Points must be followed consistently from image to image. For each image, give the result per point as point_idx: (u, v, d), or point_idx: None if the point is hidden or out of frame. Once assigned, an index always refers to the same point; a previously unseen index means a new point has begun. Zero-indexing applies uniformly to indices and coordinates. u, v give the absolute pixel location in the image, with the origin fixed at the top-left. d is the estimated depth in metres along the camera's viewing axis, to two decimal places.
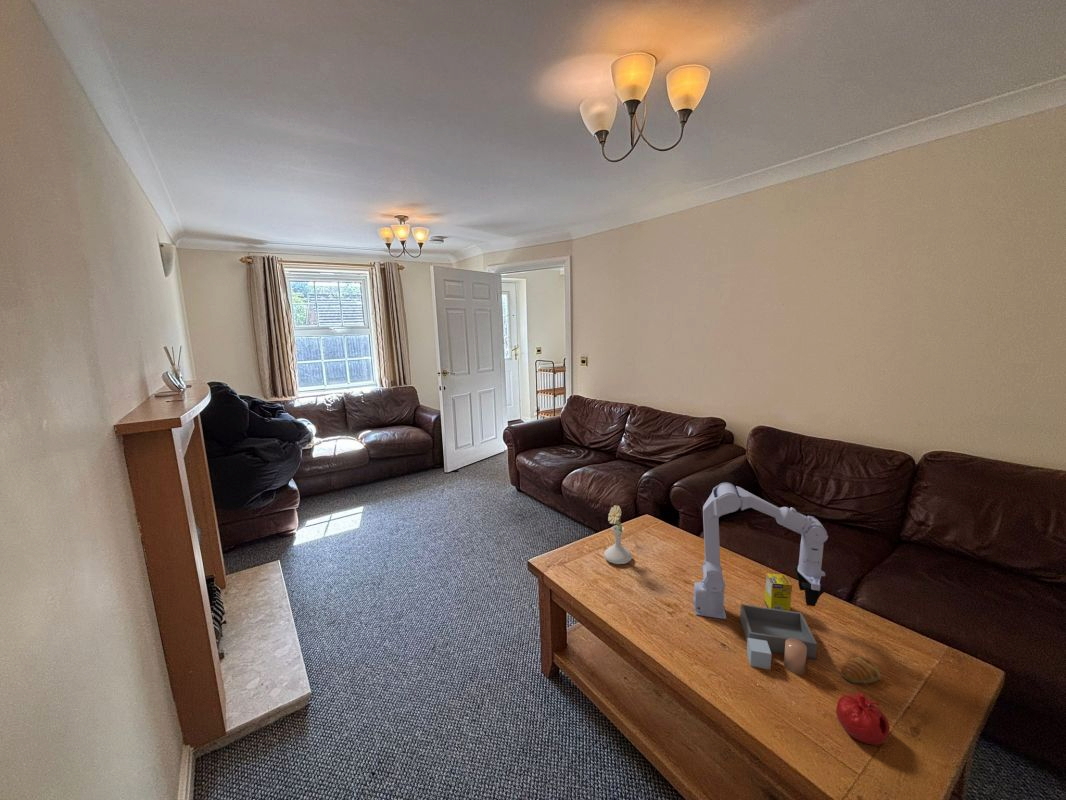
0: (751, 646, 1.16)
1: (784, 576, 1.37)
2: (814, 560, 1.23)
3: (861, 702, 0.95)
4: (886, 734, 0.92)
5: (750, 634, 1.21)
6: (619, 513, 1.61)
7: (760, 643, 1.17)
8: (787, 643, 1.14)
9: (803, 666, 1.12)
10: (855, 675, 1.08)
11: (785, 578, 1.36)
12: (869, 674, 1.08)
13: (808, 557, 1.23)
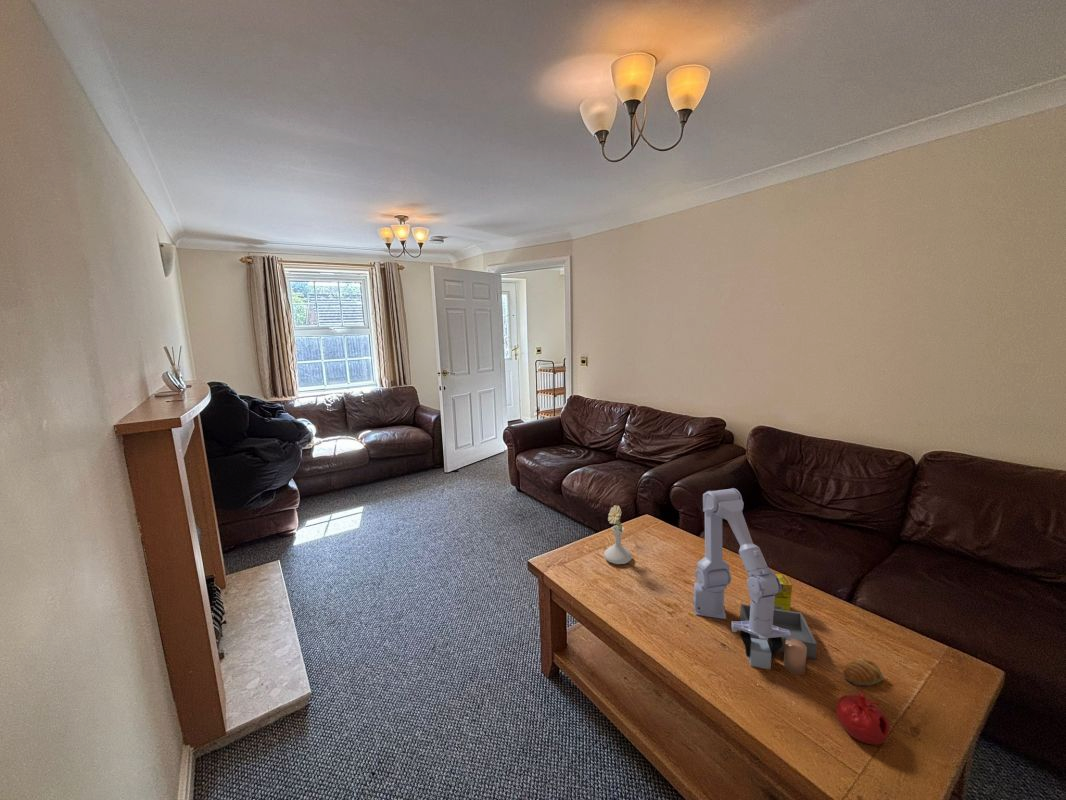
0: (751, 646, 1.16)
1: (784, 576, 1.37)
2: (753, 613, 1.14)
3: (861, 702, 0.95)
4: (886, 734, 0.92)
5: (750, 634, 1.21)
6: (619, 513, 1.61)
7: (760, 642, 1.17)
8: (787, 643, 1.14)
9: (803, 666, 1.12)
10: (859, 677, 1.08)
11: (785, 578, 1.36)
12: (872, 676, 1.08)
13: (750, 608, 1.15)
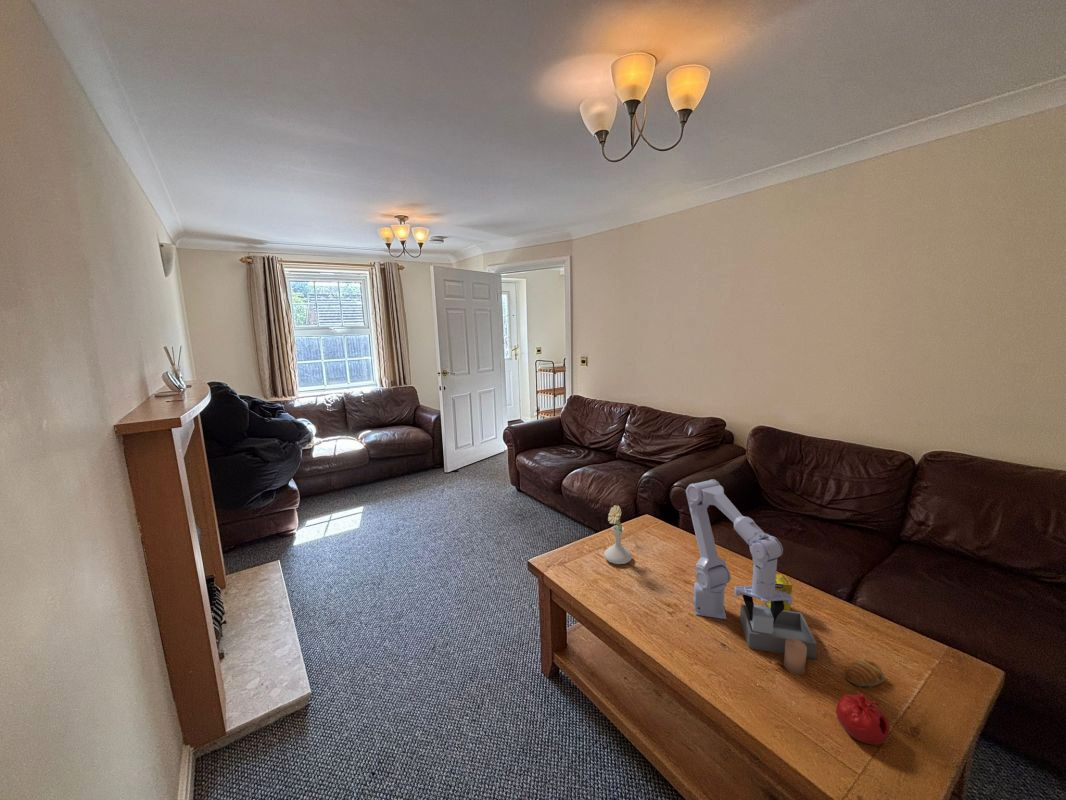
0: (754, 611, 1.19)
1: (784, 576, 1.37)
2: (757, 578, 1.16)
3: (861, 702, 0.95)
4: (886, 734, 0.92)
5: (750, 634, 1.21)
6: (619, 513, 1.61)
7: (763, 608, 1.20)
8: (787, 643, 1.14)
9: (803, 666, 1.12)
10: (861, 678, 1.07)
11: (785, 578, 1.36)
12: (874, 677, 1.07)
13: (753, 573, 1.17)
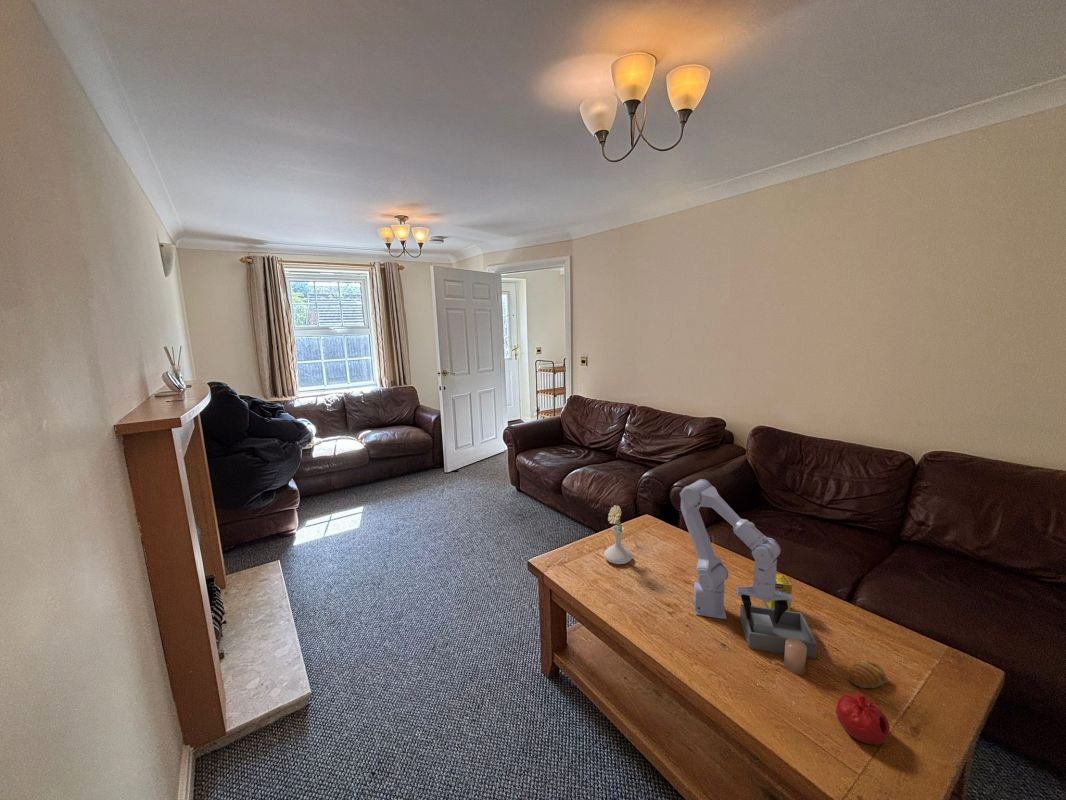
0: (754, 620, 1.25)
1: (784, 576, 1.37)
2: (761, 581, 1.21)
3: (861, 702, 0.95)
4: (886, 734, 0.92)
5: (750, 634, 1.21)
6: (619, 513, 1.61)
7: (763, 617, 1.26)
8: (787, 643, 1.14)
9: (803, 666, 1.12)
10: (864, 680, 1.07)
11: (785, 578, 1.36)
12: (877, 678, 1.07)
13: (756, 576, 1.22)
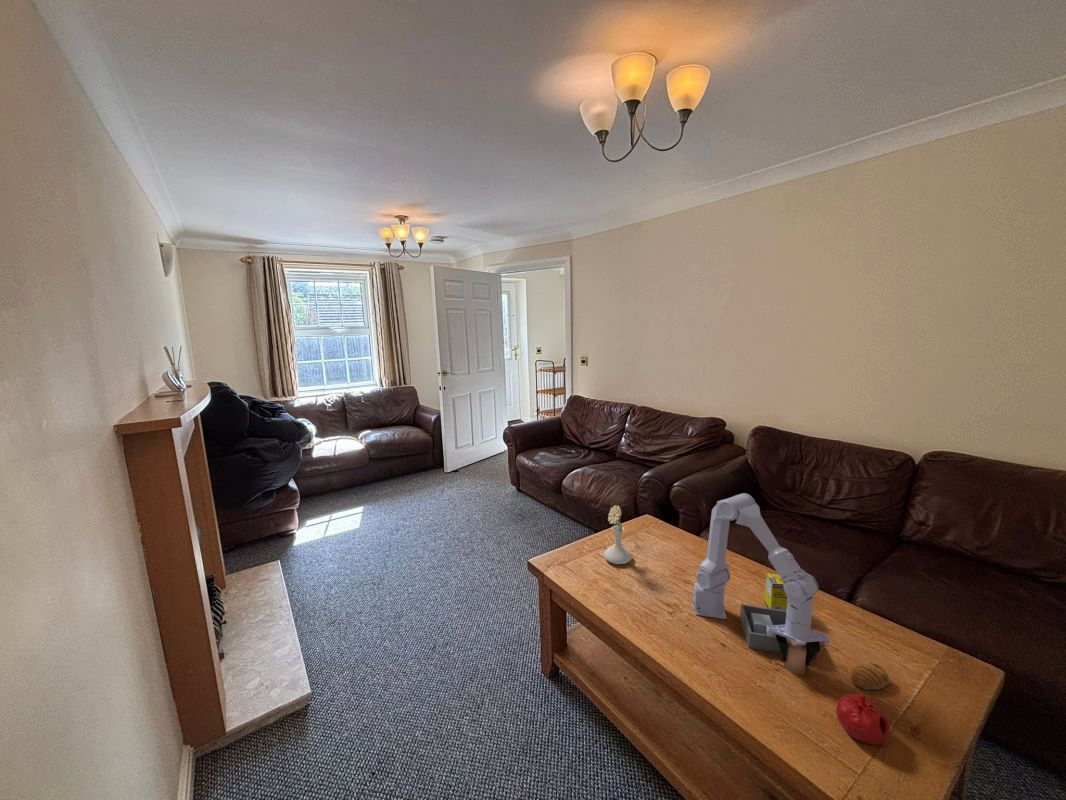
0: (754, 620, 1.25)
1: None
2: (793, 619, 1.10)
3: (861, 702, 0.95)
4: (886, 734, 0.92)
5: (750, 634, 1.21)
6: (619, 513, 1.61)
7: (763, 617, 1.26)
8: None
9: (803, 666, 1.12)
10: (867, 682, 1.06)
11: None
12: (880, 680, 1.06)
13: (788, 613, 1.11)
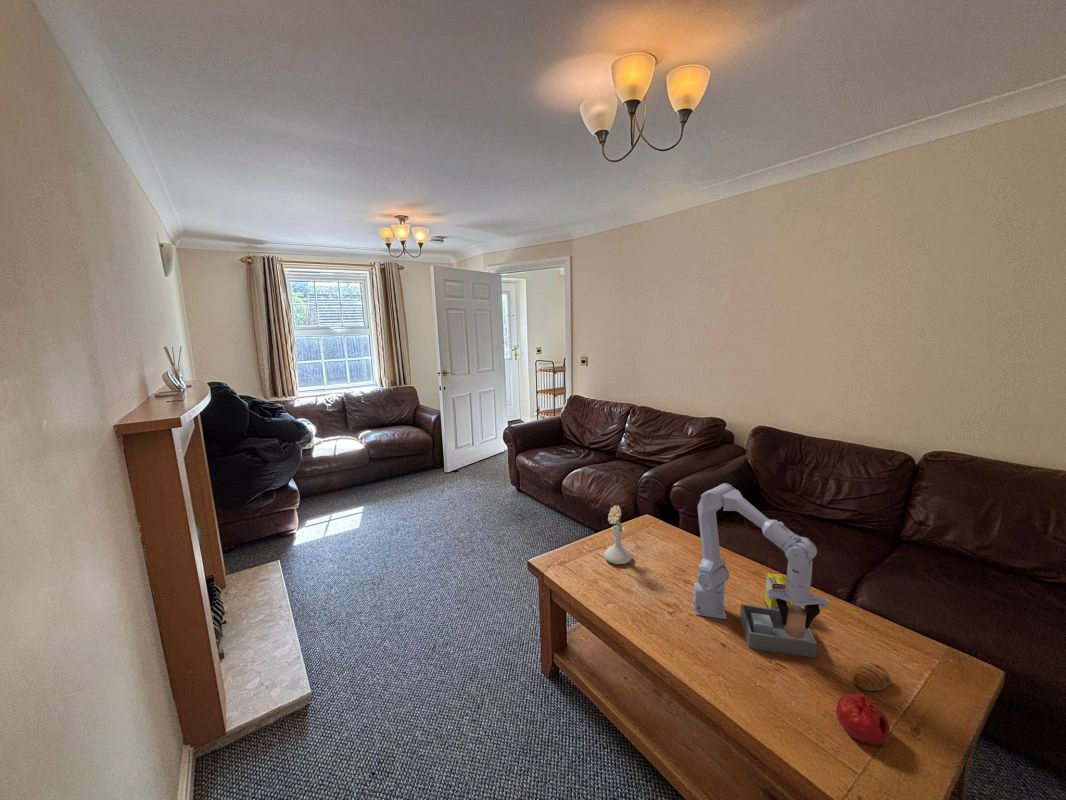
0: (754, 620, 1.25)
1: (784, 576, 1.37)
2: (795, 583, 1.13)
3: (861, 702, 0.95)
4: (886, 734, 0.92)
5: (750, 634, 1.21)
6: (619, 513, 1.61)
7: (763, 617, 1.26)
8: None
9: (803, 630, 1.14)
10: (869, 683, 1.06)
11: (785, 578, 1.36)
12: (882, 681, 1.06)
13: (789, 578, 1.14)
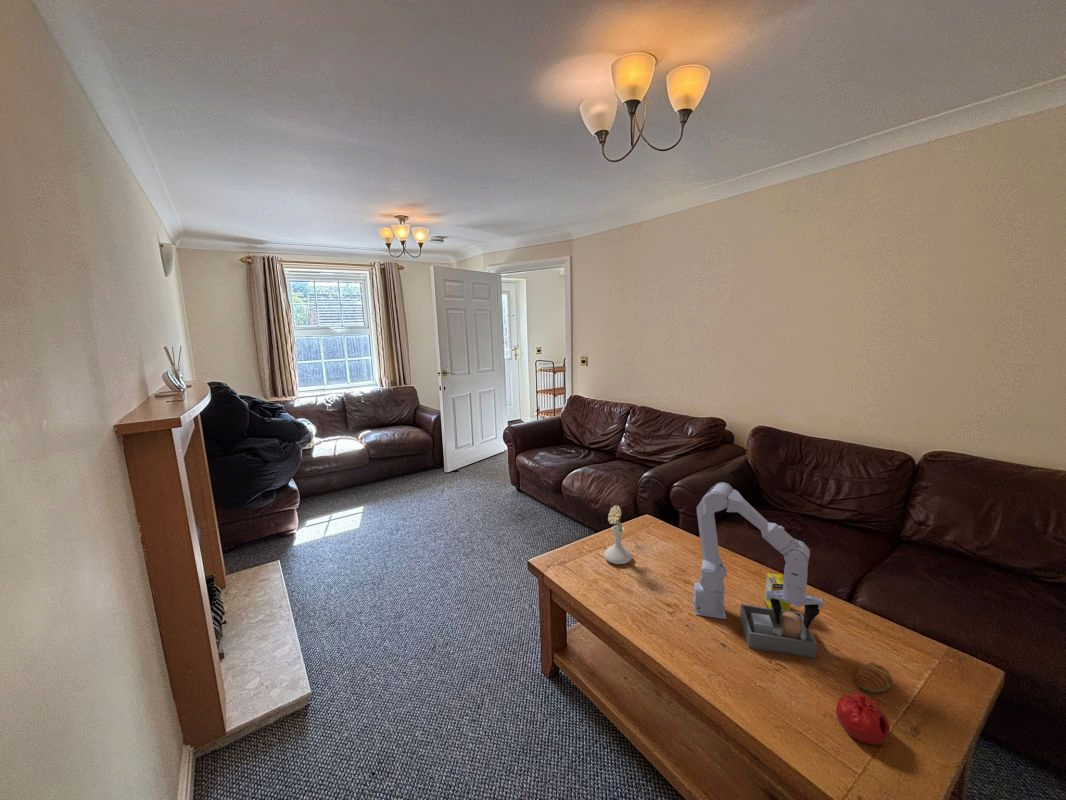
0: (754, 620, 1.25)
1: None
2: (794, 585, 1.18)
3: (861, 702, 0.95)
4: (886, 734, 0.92)
5: (750, 634, 1.21)
6: (619, 513, 1.61)
7: (763, 617, 1.26)
8: (784, 616, 1.23)
9: (798, 637, 1.21)
10: (873, 684, 1.06)
11: None
12: (885, 682, 1.06)
13: (788, 581, 1.20)
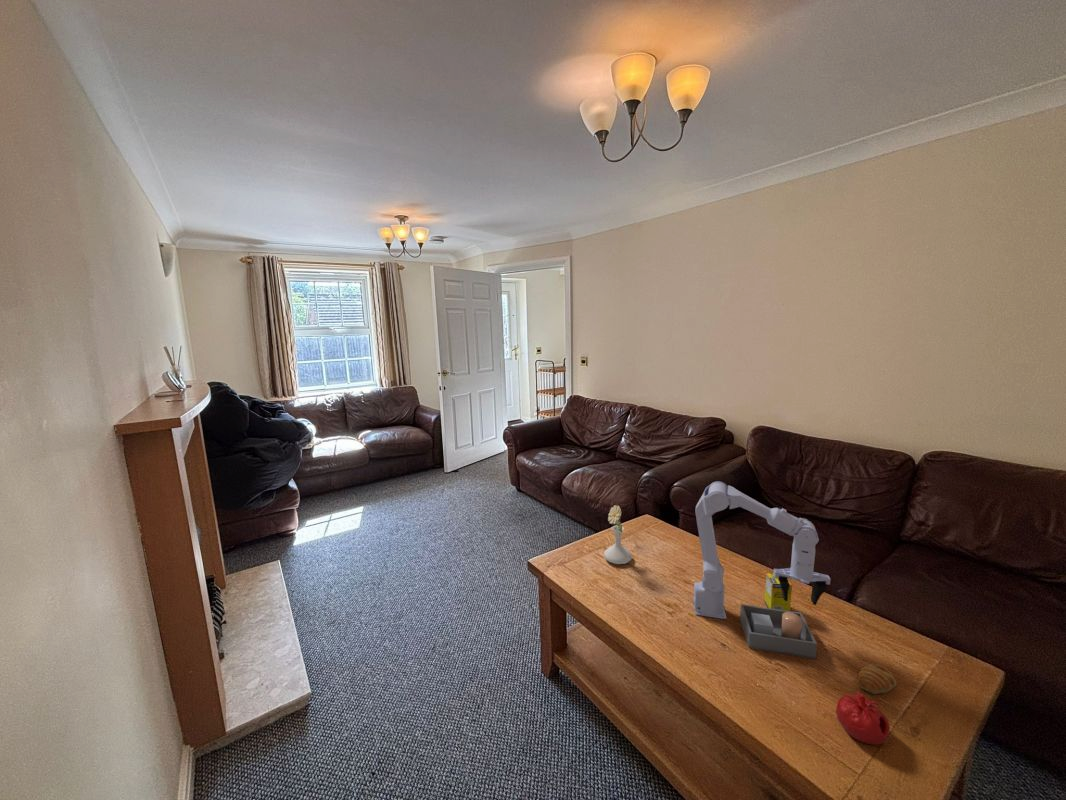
0: (754, 620, 1.25)
1: None
2: (804, 563, 1.21)
3: (861, 702, 0.95)
4: (886, 734, 0.92)
5: (750, 634, 1.21)
6: (619, 513, 1.61)
7: (763, 617, 1.26)
8: (784, 616, 1.23)
9: (798, 637, 1.21)
10: (875, 686, 1.05)
11: None
12: (888, 683, 1.05)
13: (798, 559, 1.22)
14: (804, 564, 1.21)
